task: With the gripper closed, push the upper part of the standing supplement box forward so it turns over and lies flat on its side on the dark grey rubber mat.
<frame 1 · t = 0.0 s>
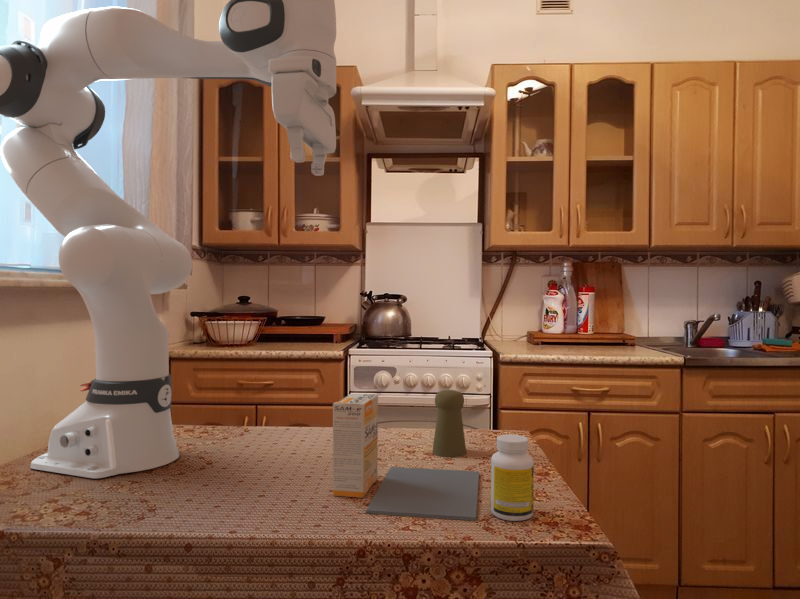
hand: (308, 168, 87), 48 cm above the table, tool pointing down, fingers open, 8 cm apart
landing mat: (428, 491, 79), on the table
green pepper mill: (449, 453, 98), on the table
supplement box: (356, 488, 81), on the table
supplement bottle: (511, 515, 71), on the table
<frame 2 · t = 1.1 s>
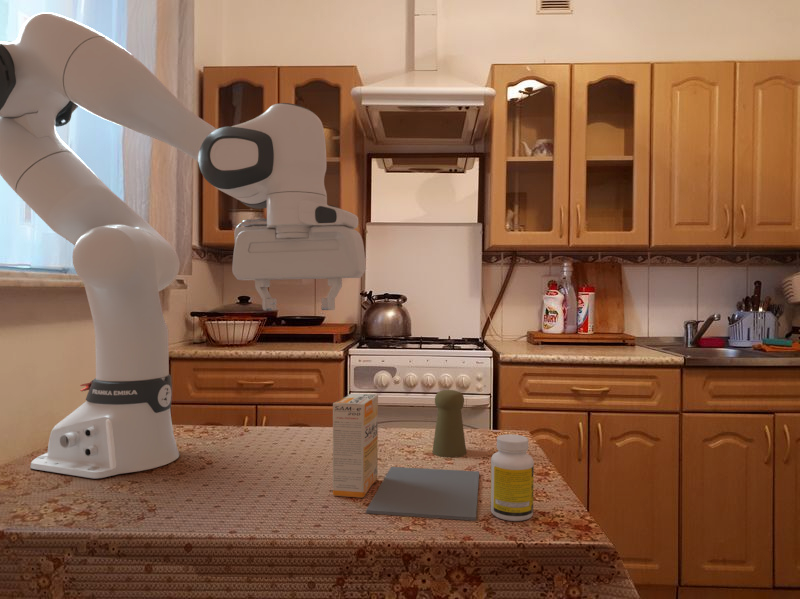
hand: (298, 310, 82), 26 cm above the table, tool pointing down, fingers open, 8 cm apart
nothing on the table moved.
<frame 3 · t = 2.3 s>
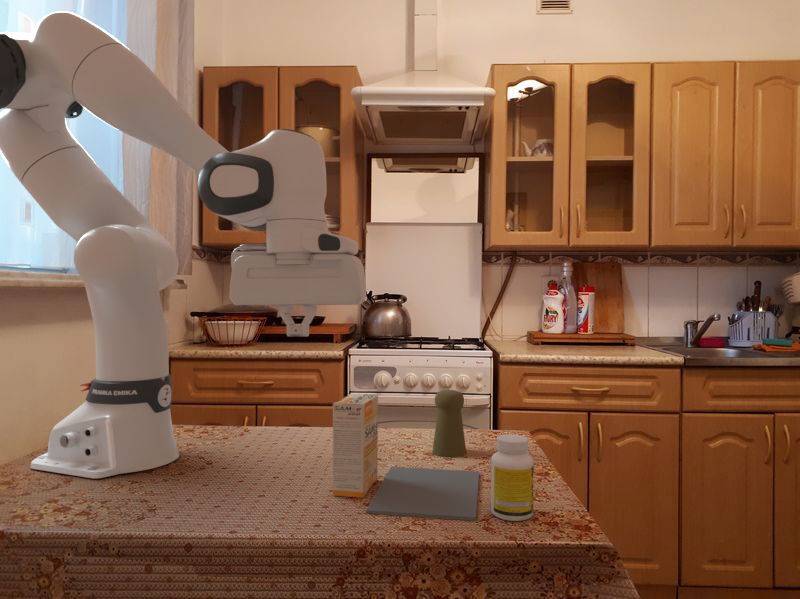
hand: (298, 336, 82), 22 cm above the table, tool pointing down, fingers closed
nothing on the table moved.
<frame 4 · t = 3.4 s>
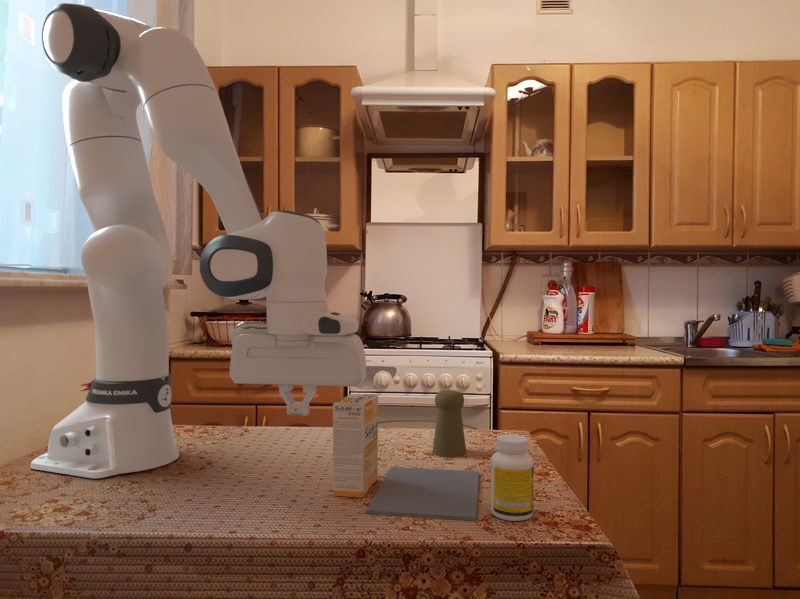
hand: (297, 414, 82), 10 cm above the table, tool pointing down, fingers closed
nothing on the table moved.
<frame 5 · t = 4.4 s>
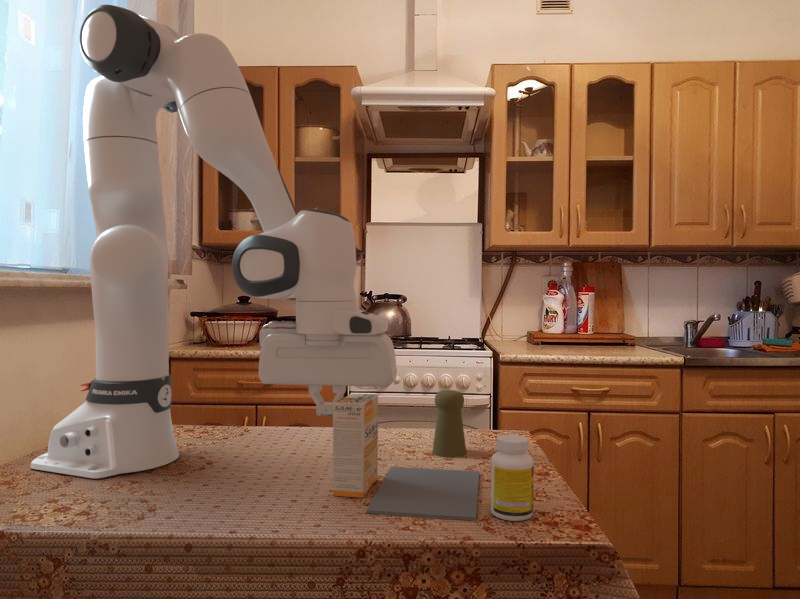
hand: (327, 415, 81), 10 cm above the table, tool pointing down, fingers closed
supplement box: (356, 488, 81), on the table, touching gripper
everything else where it was.
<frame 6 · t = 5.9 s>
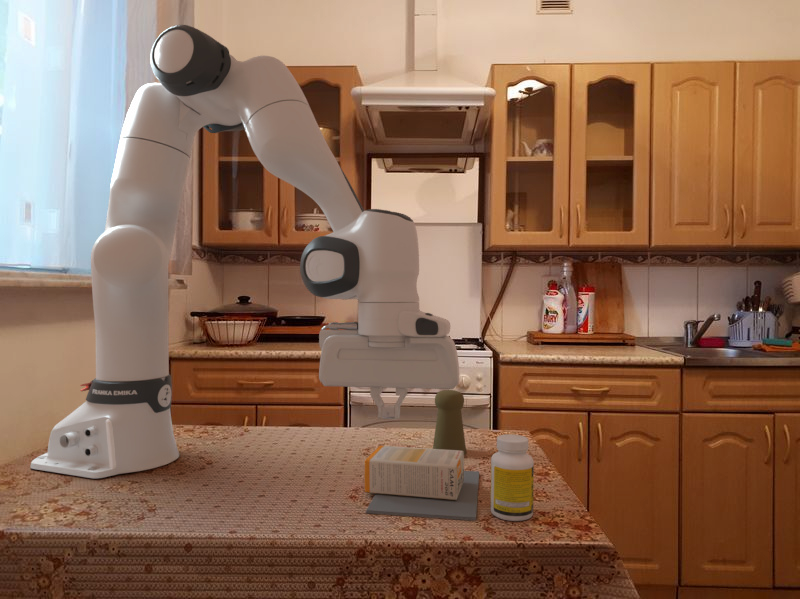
hand: (389, 418, 80), 10 cm above the table, tool pointing down, fingers closed
supplement box: (370, 467, 81), point 3 cm above the table, touching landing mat
everything else where it was.
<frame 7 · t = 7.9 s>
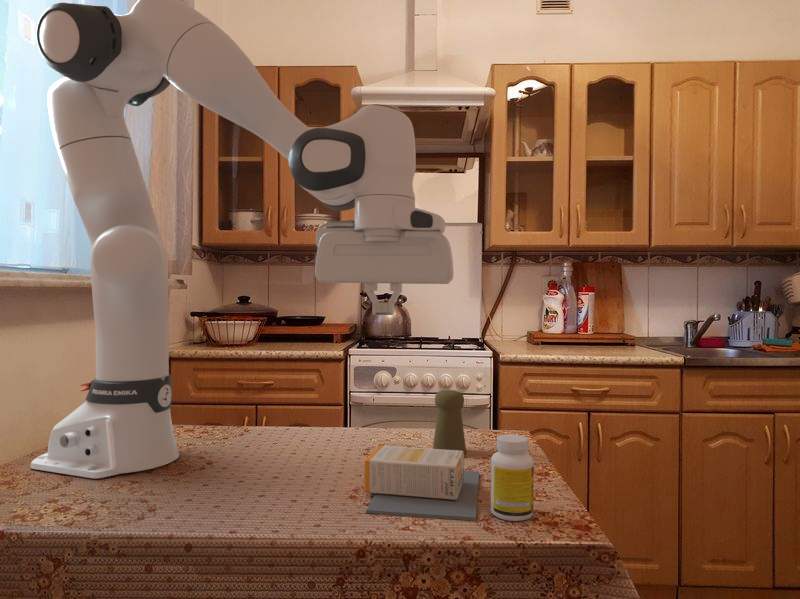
hand: (383, 315, 81), 25 cm above the table, tool pointing down, fingers closed
nothing on the table moved.
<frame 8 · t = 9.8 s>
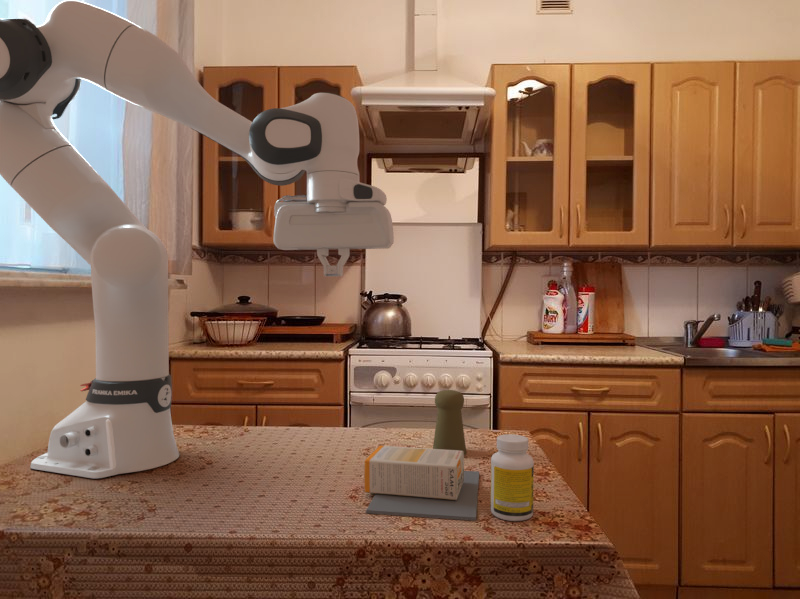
hand: (333, 276, 93), 31 cm above the table, tool pointing down, fingers closed
nothing on the table moved.
at the end: supplement box tilted 90°; supplement box touching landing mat; supplement box inside the target area (1.6 cm from its centre), point 2.7 cm above the table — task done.
